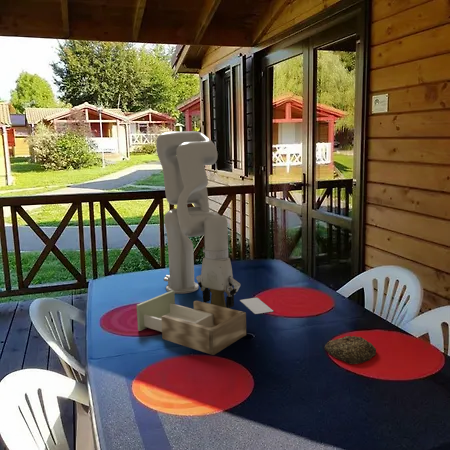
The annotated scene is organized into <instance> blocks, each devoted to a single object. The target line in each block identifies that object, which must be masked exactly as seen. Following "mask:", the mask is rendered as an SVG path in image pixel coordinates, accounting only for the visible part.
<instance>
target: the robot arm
mask: <svg viewBox="0 0 450 450" xmlns="http://www.w3.org/2000/svg"><path fill="white" fill-rule="evenodd" d="M155 146H156V153H157V156H158V161H160V165H161V167H162V173H163V183H164V191H165V198H166V201H167V203H168V204H170V205H172V206H173V205H175V206H176V208H172V209H170V210H168V211H167V212H166V213H165V215H164V217H163V219H164V226H165V231H166V238H167V250H168V268H169V269H168V272H169V274H166V275H165V277H164V278H163V282H167V285H166V287H165V290H166V292H169V291H172V290H173V291H174V293H175V294H178V295H180V294H182V295H183V294H190V293H193V292H196V291H197V290H199V288H200V291H201V292H202V302H205V303H209V302H211V292H210V289H214V290H219V291H225V292H224V293H226V295H227V296H226V297H225V299H226V300H225V303H226V308H229V309H232V308H233V307H234V306H235V295H236V294H237V293H238V292H239V289H240V287H241V283H240V282H238V281H237V279H234V275H233V268H232V262H231V258H230V257H229V233H228V231H229V230H228V228H229V226H228V219H227V217H226V216H225V215H221V214H219V213H218V212H216V211H210V205H209V204H210V203H209V196H208V195H209V194H208V188H207V186H208V184H209V179H208V175H207V171H206V167H205V166H213V165H214V164H216V162H217V160H218V155H219V154H218V151H217V150H218V149H217V147H216V145H215V144H214V142H213V141H212V140H211V139H210V138H209V137H208V136H206V134H205V133H202V132H201V131H194V130H193V131H167V132H162V133H161V134H159V135H158V136H157V138H156V143H155ZM190 204H193V206H192V207H191V206H190V207H188V205H190ZM201 236H204V248H203V249H202V253H204V257H203V258H202V263H201V270H200V271H201V272H200V274H199V275H196V277H195V264H194V263H195V262H194V259H195V258H194V242H193V241H192V240H191V239H190V238H194V237H201ZM195 279H196V280H197V282H195Z"/></svg>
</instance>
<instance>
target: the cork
mask: <svg viewBox="0 0 450 450" xmlns="http://www.w3.org/2000/svg"><path fill="white" fill-rule="evenodd" d="M225 293H226V292H225V291H219V290H214V289H210V301H209V302H210V303H209V304H213V305H217V306H221V307H225V308H227V305H226V300H225V299H226V297H225Z"/></svg>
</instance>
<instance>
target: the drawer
mask: <svg viewBox="0 0 450 450" xmlns="http://www.w3.org/2000/svg"><path fill="white" fill-rule="evenodd" d="M175 294H176V293H174V291H173V290H172V291H169V292H168V291H166V292H165V293H162V294H159V295H157V296H154V297H152V298H150V299H148V300H144V301H143V302H141V303H137V304H136V317H137V318H136V319H137V331H139V332H140V331H144V330H145V329H147V328H148V329H151V330H155V331H157V332H161V333H162V319H161V316H164V315H167V316H170V317H174V318H177V319H181V320H184V321H188V322H192V323H195V324H199V325H202V326H206V327H212V326H214V316H213V314H211V313H207V312H204V311H200V310H196V309H194V308H191V307H188V306H183V305H180V304H176V301H175V300H176V299H175V298H176V297H175Z"/></svg>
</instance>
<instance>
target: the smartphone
mask: <svg viewBox="0 0 450 450" xmlns="http://www.w3.org/2000/svg"><path fill="white" fill-rule="evenodd" d="M239 302H241V303H242V305H243V306H244V307H246V308H247V309H248V310H249V311H251V312H252V314H254V315H263V313H264V314H269V312H270V313H274V312H275V311H274V309H272V308H271V307H270V306H269V305H267V304H266V303H265V302H264V301H262V300H261V299H260V298H259V297H250V298H244V299H239Z"/></svg>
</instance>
